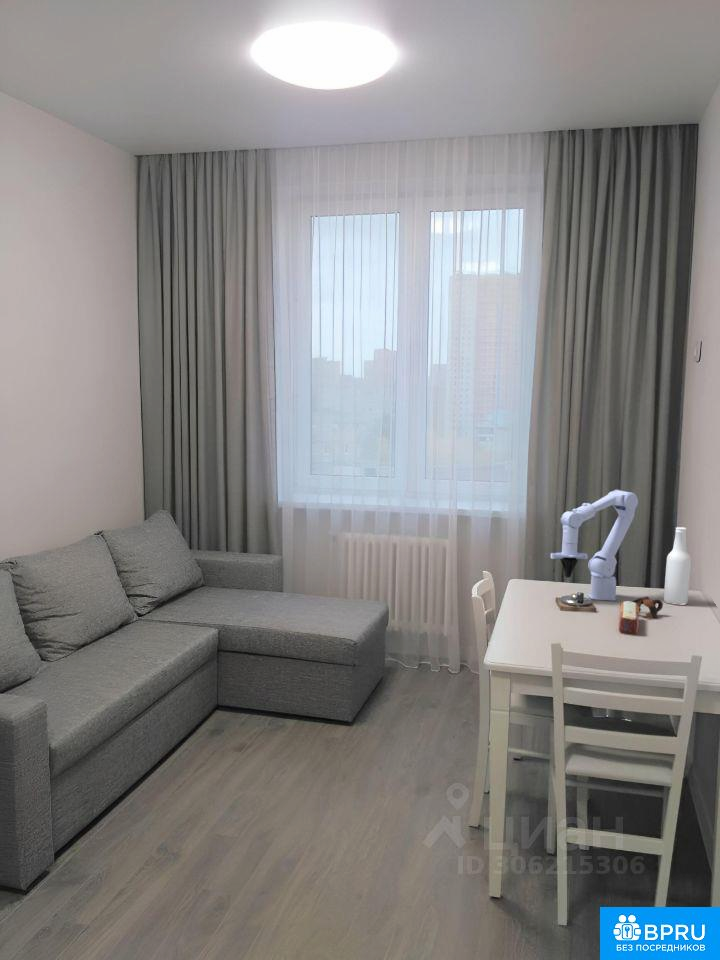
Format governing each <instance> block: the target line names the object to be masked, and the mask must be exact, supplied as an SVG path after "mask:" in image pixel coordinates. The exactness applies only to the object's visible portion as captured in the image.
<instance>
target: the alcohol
mask: <svg viewBox="0 0 720 960" xmlns="http://www.w3.org/2000/svg"><path fill="white" fill-rule="evenodd" d="M672 547H673V548H672V550H671V551H670V552H668V554H667V556H666V563H665V564H666V565H665V577H664V589H663V590H664V591H663V592H664V593H663V601H664V602H665V601H666V602H669V603H676V604H682V603H687V604H688V603H689V601H688V600H689V589H690V579H691V577H690V576H691V566H692V565H691V563H692V560H691V559H692V558H691V556H690V554H689V552H688V550H687V528H686V527H682V526H677V527H675V535H674V541H673V546H672ZM666 602H665V603H666Z"/></svg>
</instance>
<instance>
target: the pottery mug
mask: <svg viewBox="0 0 720 960" xmlns="http://www.w3.org/2000/svg"><path fill="white" fill-rule="evenodd" d="M630 602H635V603H636V604H638V606H639V612H641V610H642V609H641V606H642V605H644V606H645V607H647V608H648V609H649V612H647V613H645V616H646V619H647V618H651V619H655V618H658V613H659V612H660V611H661V610H662V609H663V607H664V603H663V601H662V600H661V599H654V600H653V599H650V598H649V596H643V597H640V598H636V599H634V600H631V601H630ZM657 605H658V606H657Z"/></svg>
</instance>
